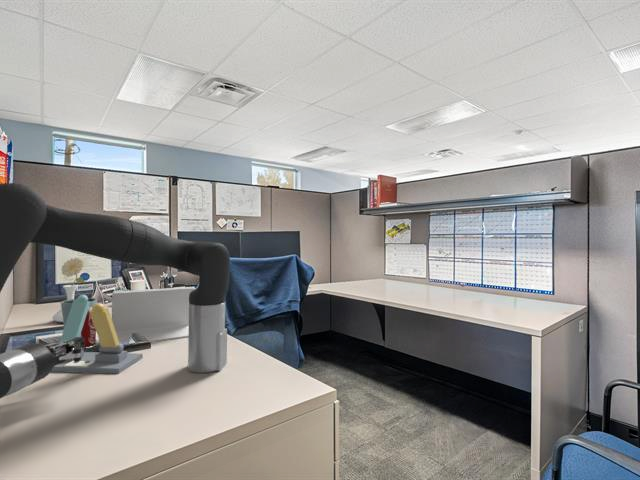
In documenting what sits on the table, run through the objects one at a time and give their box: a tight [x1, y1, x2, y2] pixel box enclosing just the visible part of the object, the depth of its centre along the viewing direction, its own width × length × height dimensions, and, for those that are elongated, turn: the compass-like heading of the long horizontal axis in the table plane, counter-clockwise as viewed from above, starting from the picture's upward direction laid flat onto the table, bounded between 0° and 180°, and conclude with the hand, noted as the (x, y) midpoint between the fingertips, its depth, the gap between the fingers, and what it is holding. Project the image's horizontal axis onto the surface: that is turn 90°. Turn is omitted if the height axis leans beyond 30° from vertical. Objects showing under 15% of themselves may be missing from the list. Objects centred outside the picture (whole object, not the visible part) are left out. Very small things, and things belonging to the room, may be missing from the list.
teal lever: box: [57, 294, 90, 343], centre depth 97 cm, size 5×3×16 cm, turn 89°
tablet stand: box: [111, 286, 196, 343], centre depth 121 cm, size 18×25×17 cm
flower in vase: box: [52, 257, 85, 323], centre depth 137 cm, size 13×11×25 cm
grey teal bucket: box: [60, 297, 98, 328], centre depth 119 cm, size 10×10×12 cm
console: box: [51, 349, 143, 374], centre depth 94 cm, size 23×11×3 cm, turn 89°
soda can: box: [80, 307, 97, 348], centre depth 107 cm, size 5×5×12 cm
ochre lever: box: [89, 302, 125, 353], centre depth 91 cm, size 5×3×16 cm, turn 89°
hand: (81, 341), depth 83 cm, fingers closed
